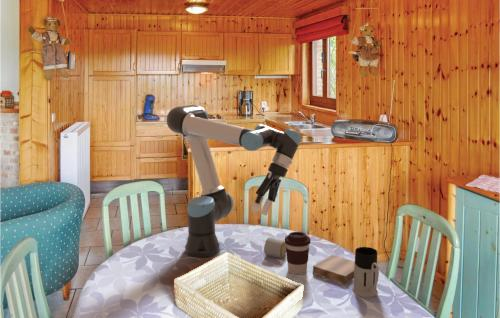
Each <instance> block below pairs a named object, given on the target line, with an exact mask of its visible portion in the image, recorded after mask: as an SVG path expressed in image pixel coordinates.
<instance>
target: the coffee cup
mask: <svg viewBox="0 0 500 318" xmlns="http://www.w3.org/2000/svg"><path fill="white" fill-rule="evenodd" d="M284 241H285V243H286V245H287V246H286V261H287V270H288V272H289V273H290V274H293V275H302V274H306V273H307V269H308V262H309V256H310V255H309V253H310V246H309V245H310V244H311V237H310V236H308V235H307V234H306V233H305V232H302V231H293V232H290V233H288V235H286V236H285V237H284Z"/></svg>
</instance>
